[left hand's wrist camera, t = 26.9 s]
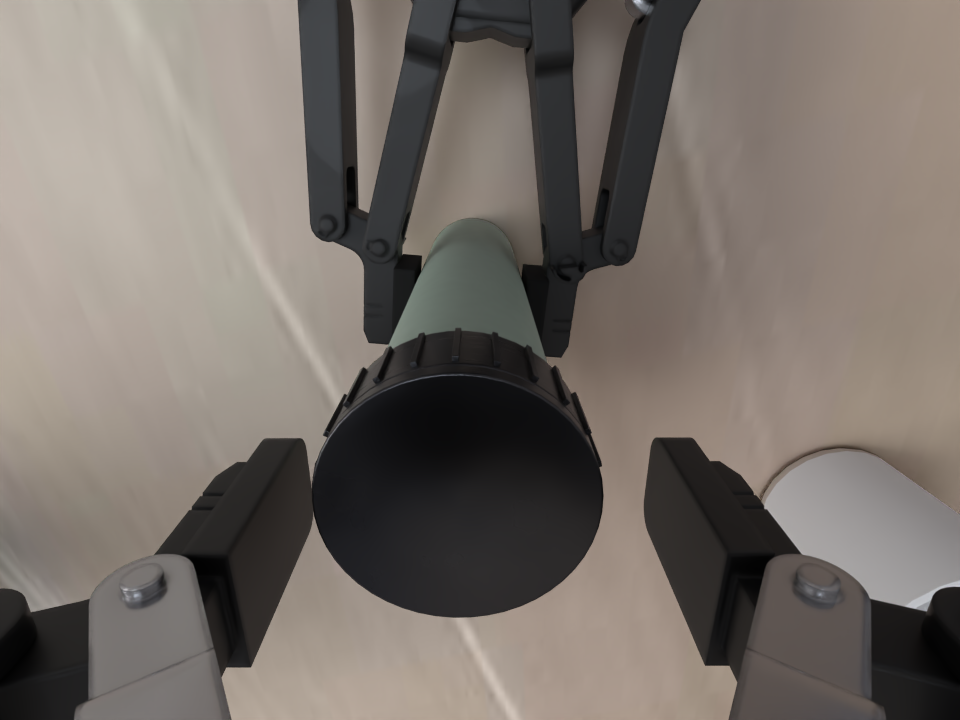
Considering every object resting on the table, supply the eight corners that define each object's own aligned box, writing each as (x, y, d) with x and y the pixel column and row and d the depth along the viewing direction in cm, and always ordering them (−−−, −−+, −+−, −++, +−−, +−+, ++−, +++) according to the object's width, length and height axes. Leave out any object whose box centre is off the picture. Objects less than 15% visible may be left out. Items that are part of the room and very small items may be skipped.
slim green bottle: (490, 202, 27) (512, 326, 9) (527, 278, 28) (612, 517, 10) (415, 242, 27) (296, 432, 10) (455, 314, 29) (416, 598, 11)
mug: (817, 413, 31) (973, 539, 21) (938, 479, 32) (1134, 624, 22) (696, 556, 34) (782, 719, 24) (811, 609, 36) (933, 782, 26)
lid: (565, 300, 10) (585, 337, 8) (602, 523, 12) (626, 596, 10) (302, 355, 10) (263, 402, 8) (376, 562, 12) (357, 641, 10)
